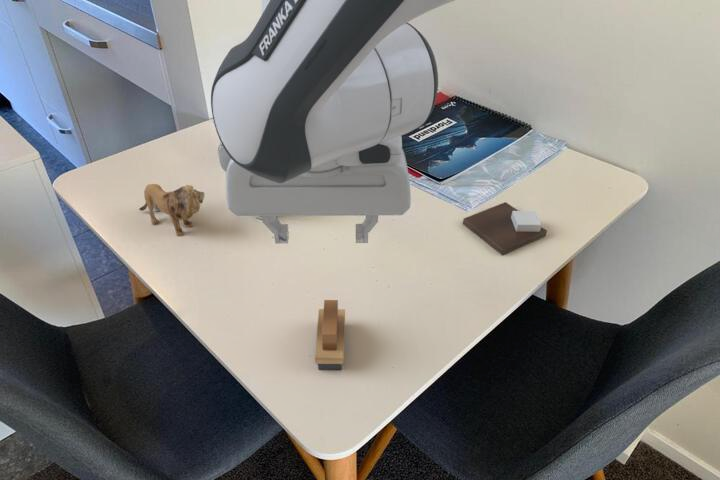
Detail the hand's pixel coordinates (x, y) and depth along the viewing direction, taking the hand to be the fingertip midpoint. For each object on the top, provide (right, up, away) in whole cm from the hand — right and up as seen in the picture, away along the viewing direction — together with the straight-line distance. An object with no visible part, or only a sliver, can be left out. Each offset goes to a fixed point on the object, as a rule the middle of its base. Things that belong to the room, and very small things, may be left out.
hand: (322, 240), depth 62 cm
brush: (+1, -14, +8) cm, 16 cm away
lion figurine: (-28, +3, +29) cm, 40 cm away
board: (+29, +2, +28) cm, 41 cm away
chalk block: (+33, +3, +28) cm, 43 cm away
